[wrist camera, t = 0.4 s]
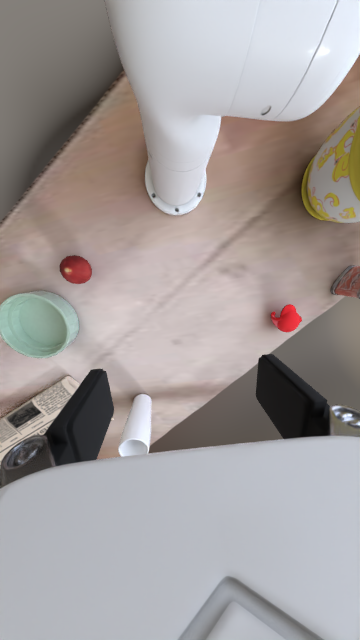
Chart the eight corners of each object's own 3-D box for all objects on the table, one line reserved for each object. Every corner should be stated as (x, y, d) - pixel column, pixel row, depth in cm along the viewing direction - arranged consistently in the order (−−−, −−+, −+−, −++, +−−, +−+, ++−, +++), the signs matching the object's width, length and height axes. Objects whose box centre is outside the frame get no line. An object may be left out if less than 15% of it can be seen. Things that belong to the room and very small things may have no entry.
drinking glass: (126, 397, 52) (111, 447, 38) (146, 387, 52) (138, 433, 38) (139, 412, 54) (129, 465, 40) (158, 403, 54) (155, 453, 39)
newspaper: (69, 373, 49) (63, 379, 46) (114, 418, 54) (111, 426, 52) (-27, 435, 53) (-37, 444, 50) (24, 471, 58) (17, 481, 56)
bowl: (6, 291, 42) (-15, 295, 37) (73, 289, 42) (61, 292, 38) (25, 350, 46) (8, 360, 41) (85, 347, 47) (76, 356, 42)
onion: (71, 279, 42) (49, 283, 34) (71, 254, 40) (48, 251, 33) (96, 284, 42) (81, 288, 35) (97, 259, 41) (81, 257, 33)
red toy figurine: (295, 320, 49) (312, 327, 43) (276, 332, 49) (290, 341, 44) (283, 296, 46) (299, 300, 41) (263, 309, 47) (276, 315, 41)
